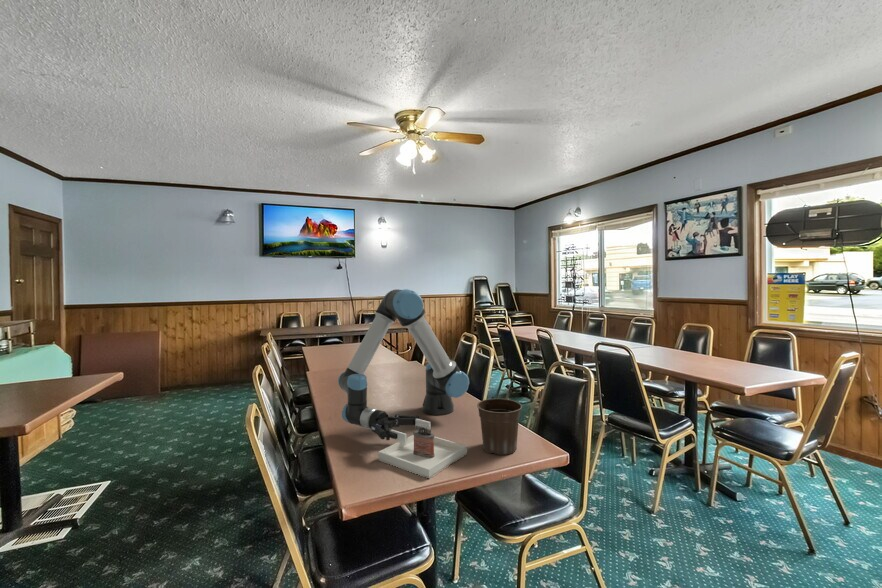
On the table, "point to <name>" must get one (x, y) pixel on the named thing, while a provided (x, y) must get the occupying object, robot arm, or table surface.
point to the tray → (422, 466)
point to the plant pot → (499, 425)
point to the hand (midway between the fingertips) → (418, 431)
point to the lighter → (423, 442)
